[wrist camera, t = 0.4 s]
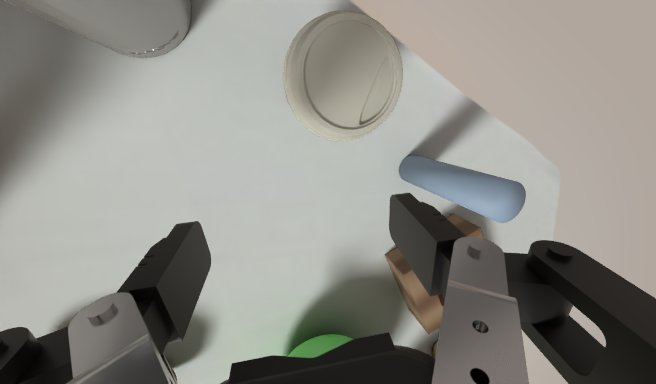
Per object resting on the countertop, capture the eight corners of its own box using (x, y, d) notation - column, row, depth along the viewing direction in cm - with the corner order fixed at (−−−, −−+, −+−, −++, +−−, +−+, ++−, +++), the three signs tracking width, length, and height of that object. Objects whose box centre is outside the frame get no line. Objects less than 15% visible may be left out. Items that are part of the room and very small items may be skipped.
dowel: (395, 162, 33) (486, 195, 20) (418, 150, 34) (522, 173, 21) (403, 186, 35) (494, 230, 22) (426, 173, 35) (527, 209, 22)
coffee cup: (304, 147, 29) (336, 168, 18) (254, 78, 26) (257, 54, 15) (362, 102, 30) (428, 96, 19) (321, 29, 26) (372, -30, 15)
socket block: (384, 254, 37) (403, 275, 32) (452, 213, 38) (480, 227, 34) (408, 309, 42) (428, 334, 37) (469, 271, 43) (495, 290, 38)
